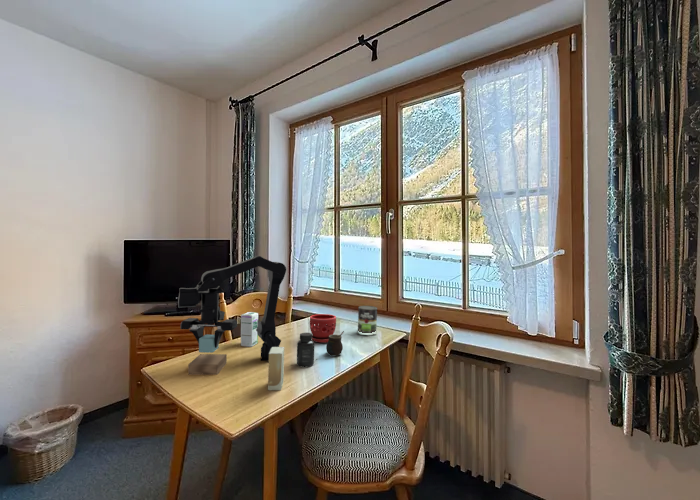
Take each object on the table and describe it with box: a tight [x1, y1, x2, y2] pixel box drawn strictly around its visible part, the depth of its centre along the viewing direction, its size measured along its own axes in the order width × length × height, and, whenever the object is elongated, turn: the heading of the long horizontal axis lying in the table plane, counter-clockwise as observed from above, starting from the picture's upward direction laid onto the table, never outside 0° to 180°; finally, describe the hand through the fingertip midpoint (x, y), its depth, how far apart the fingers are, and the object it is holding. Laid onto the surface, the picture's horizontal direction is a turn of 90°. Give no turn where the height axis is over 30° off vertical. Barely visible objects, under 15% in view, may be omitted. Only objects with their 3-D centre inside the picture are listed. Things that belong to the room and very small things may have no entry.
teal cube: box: [198, 333, 220, 354], centre depth 113 cm, size 5×5×5 cm
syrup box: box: [240, 311, 259, 348], centre depth 141 cm, size 6×6×14 cm
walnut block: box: [187, 353, 228, 376], centre depth 113 cm, size 10×10×4 cm
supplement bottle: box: [296, 332, 315, 368], centre depth 120 cm, size 7×7×12 cm
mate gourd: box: [325, 330, 345, 357], centre depth 132 cm, size 7×8×10 cm
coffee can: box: [357, 305, 378, 333], centre depth 165 cm, size 10×10×14 cm
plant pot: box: [309, 313, 337, 344], centre depth 151 cm, size 13×13×12 cm
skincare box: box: [267, 346, 285, 391], centre depth 101 cm, size 6×4×12 cm
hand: (209, 347), depth 113 cm, fingers closed on teal cube, 5 cm apart
